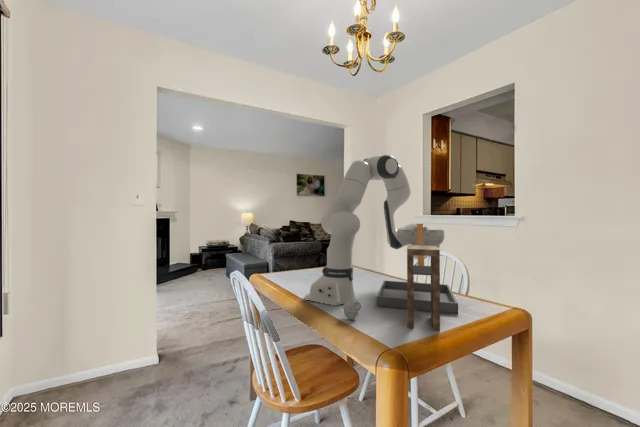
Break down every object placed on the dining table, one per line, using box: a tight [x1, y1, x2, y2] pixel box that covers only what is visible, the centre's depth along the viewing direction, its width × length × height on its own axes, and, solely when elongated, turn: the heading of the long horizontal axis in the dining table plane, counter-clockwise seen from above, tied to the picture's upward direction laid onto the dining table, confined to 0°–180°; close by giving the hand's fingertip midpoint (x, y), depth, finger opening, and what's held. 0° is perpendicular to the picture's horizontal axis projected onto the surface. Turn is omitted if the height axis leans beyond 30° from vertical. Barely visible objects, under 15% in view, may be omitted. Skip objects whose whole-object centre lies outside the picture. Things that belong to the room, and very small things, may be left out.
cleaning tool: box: [414, 223, 431, 276], centre depth 120 cm, size 9×22×3 cm
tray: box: [376, 280, 459, 315], centre depth 126 cm, size 30×30×4 cm
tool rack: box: [406, 244, 441, 332], centre depth 98 cm, size 10×12×26 cm
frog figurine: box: [341, 299, 363, 321], centre depth 102 cm, size 6×7×7 cm
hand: (420, 227), depth 123 cm, fingers closed on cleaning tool, 2 cm apart
